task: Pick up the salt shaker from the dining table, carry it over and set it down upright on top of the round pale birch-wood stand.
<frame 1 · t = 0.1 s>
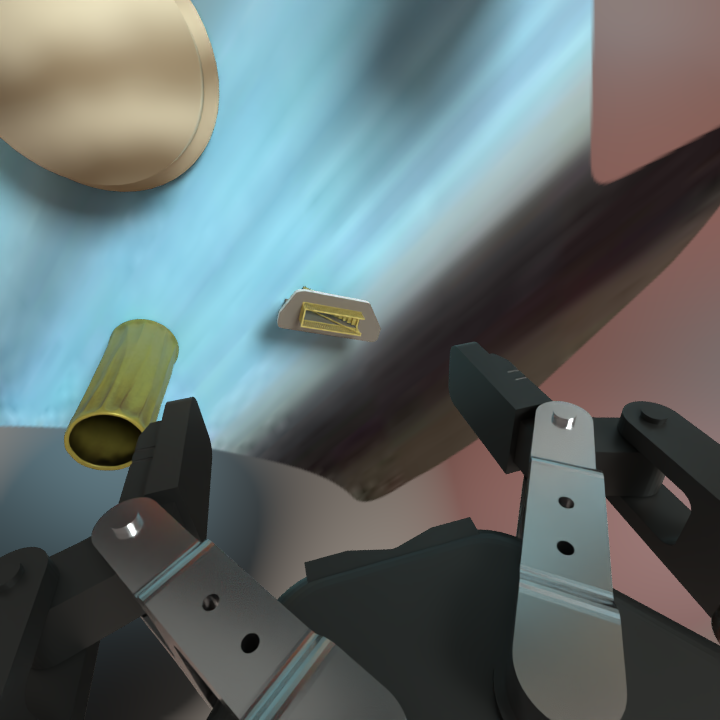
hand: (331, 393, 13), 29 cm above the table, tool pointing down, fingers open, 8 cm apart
platform: (323, 296, 44), on the table
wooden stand: (101, 70, 30), on the table
vase: (145, 345, 41), on the table
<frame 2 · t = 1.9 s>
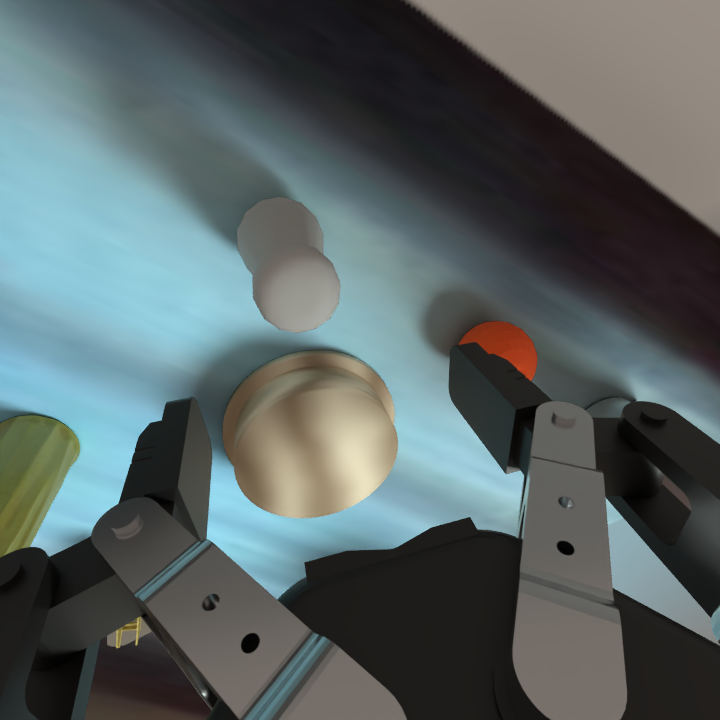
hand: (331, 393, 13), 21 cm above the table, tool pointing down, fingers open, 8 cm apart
platform: (141, 565, 45), on the table
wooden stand: (311, 424, 40), on the table
salt shaker: (277, 233, 31), on the table
vase: (38, 442, 34), on the table
clementine: (477, 344, 41), on the table
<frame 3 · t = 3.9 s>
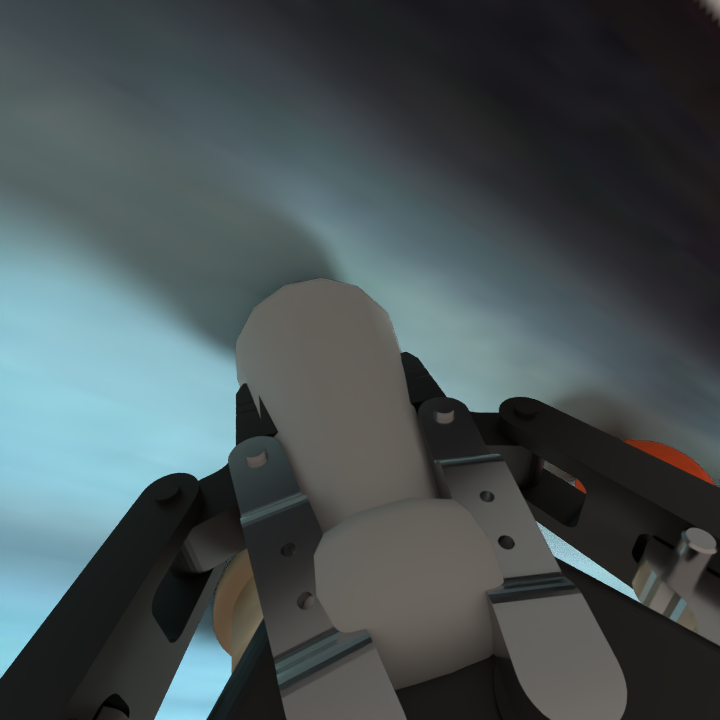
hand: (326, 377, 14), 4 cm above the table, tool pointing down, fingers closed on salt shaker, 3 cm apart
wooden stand: (348, 584, 26), on the table
salt shaker: (309, 327, 17), on the table, touching gripper
clementine: (598, 461, 27), on the table
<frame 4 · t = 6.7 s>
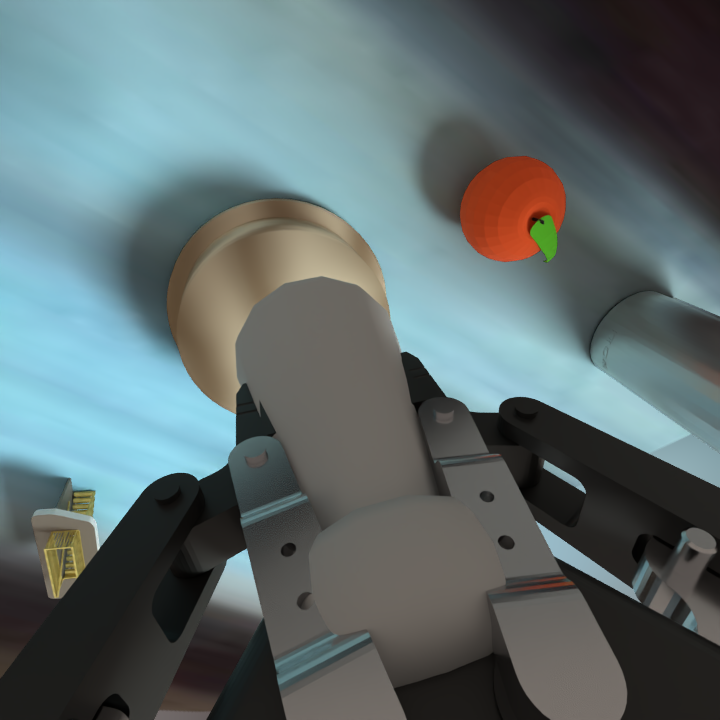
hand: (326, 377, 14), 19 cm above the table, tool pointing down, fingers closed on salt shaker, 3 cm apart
platform: (88, 505, 37), on the table
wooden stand: (282, 308, 32), on the table
salt shaker: (308, 326, 17), point 15 cm above the table, touching gripper
clementine: (487, 206, 33), on the table
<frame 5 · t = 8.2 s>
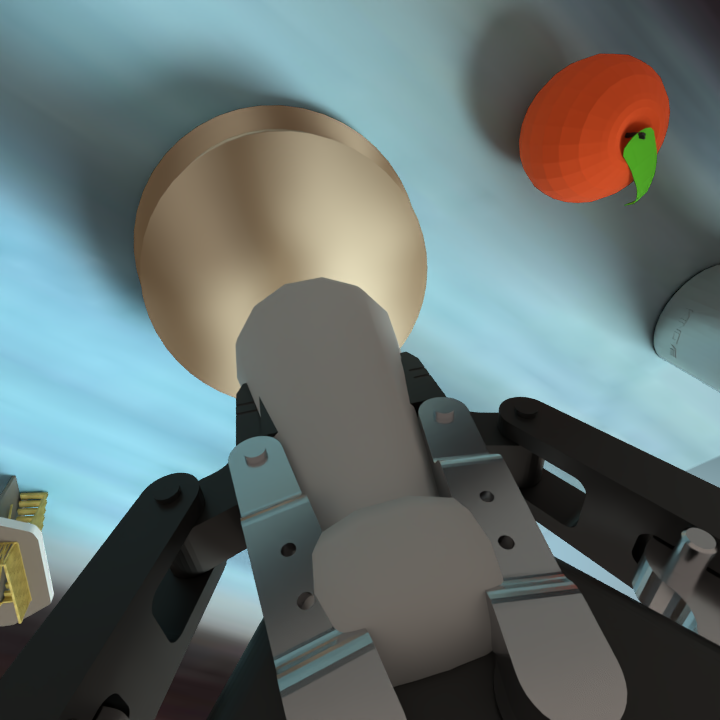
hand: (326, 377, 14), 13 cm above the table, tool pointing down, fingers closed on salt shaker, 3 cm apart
platform: (41, 510, 30), on the table
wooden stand: (286, 261, 25), on the table
salt shaker: (308, 327, 17), point 9 cm above the table, touching gripper
clementine: (549, 138, 26), on the table
when the fingers open (10 cm above the table, at t = 9.5 s): salt shaker drops 1 cm, resting on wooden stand.
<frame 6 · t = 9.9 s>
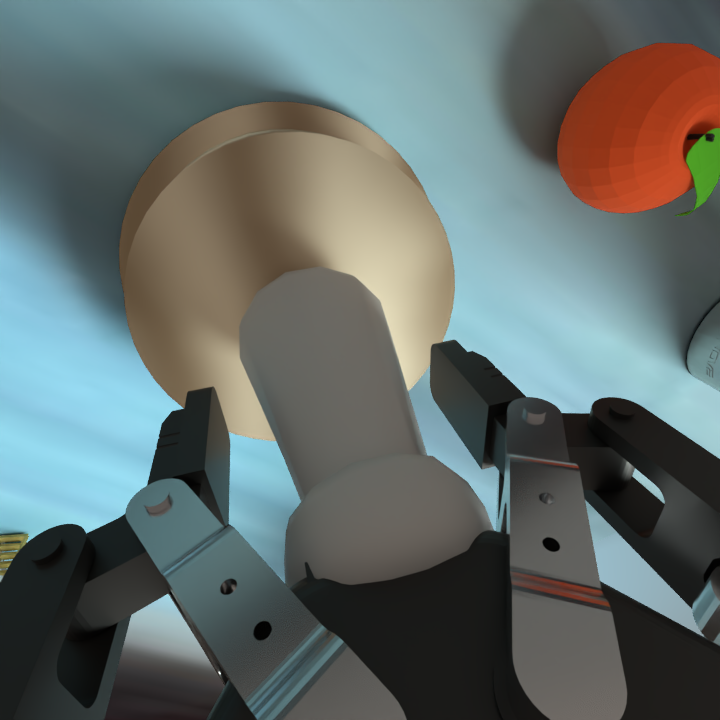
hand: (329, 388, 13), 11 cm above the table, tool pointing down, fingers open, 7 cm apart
platform: (22, 551, 28), on the table
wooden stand: (292, 277, 22), on the table
salt shaker: (306, 313, 18), point 5 cm above the table, touching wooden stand
clementine: (587, 140, 23), on the table
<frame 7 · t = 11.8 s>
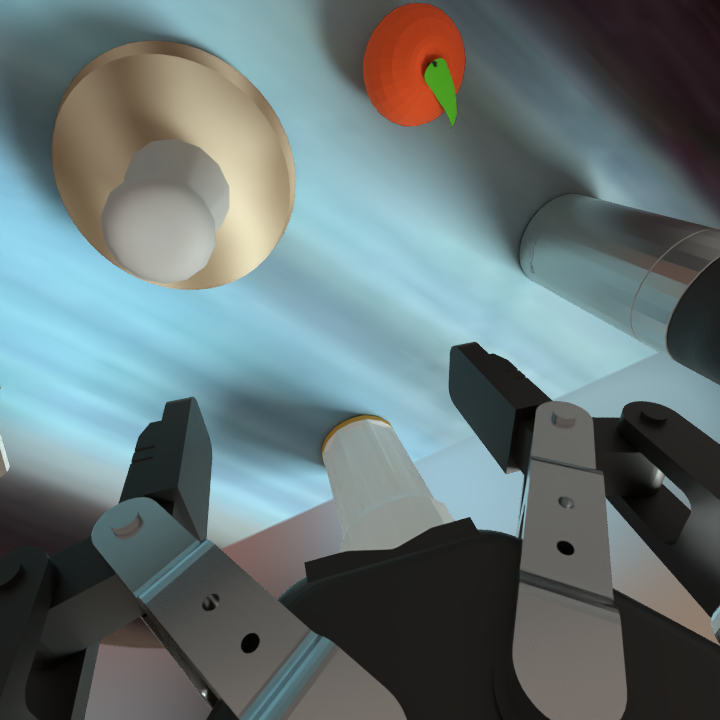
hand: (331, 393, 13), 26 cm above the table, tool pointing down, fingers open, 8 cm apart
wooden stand: (186, 176, 31), on the table
salt shaker: (182, 186, 27), point 5 cm above the table, touching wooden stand
cup: (358, 444, 50), on the table
clementine: (398, 79, 32), on the table
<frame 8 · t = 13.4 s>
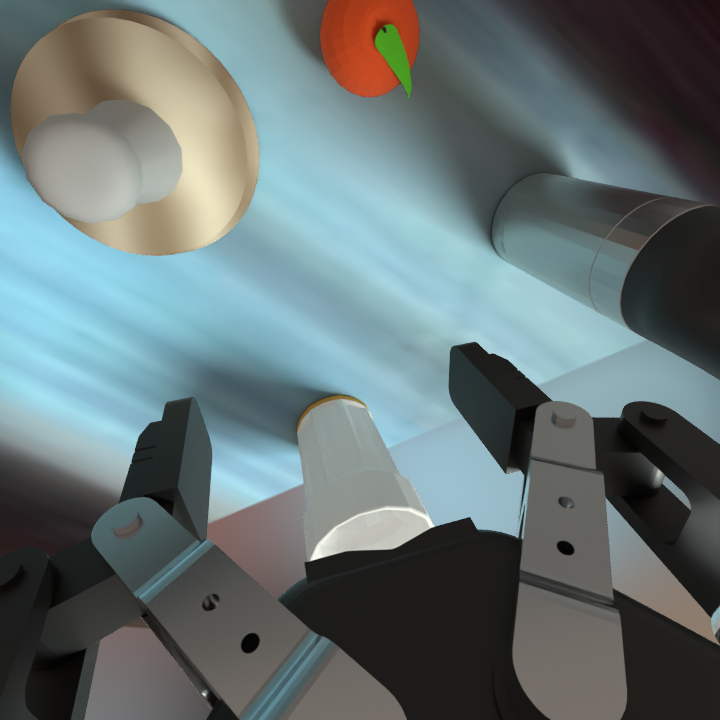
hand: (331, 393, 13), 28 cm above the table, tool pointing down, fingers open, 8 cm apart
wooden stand: (151, 146, 32), on the table
salt shaker: (140, 151, 28), point 5 cm above the table, touching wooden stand
cup: (334, 425, 50), on the table
clementine: (361, 52, 33), on the table
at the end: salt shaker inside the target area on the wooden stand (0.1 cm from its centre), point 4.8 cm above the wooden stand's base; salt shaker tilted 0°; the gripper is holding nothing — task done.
